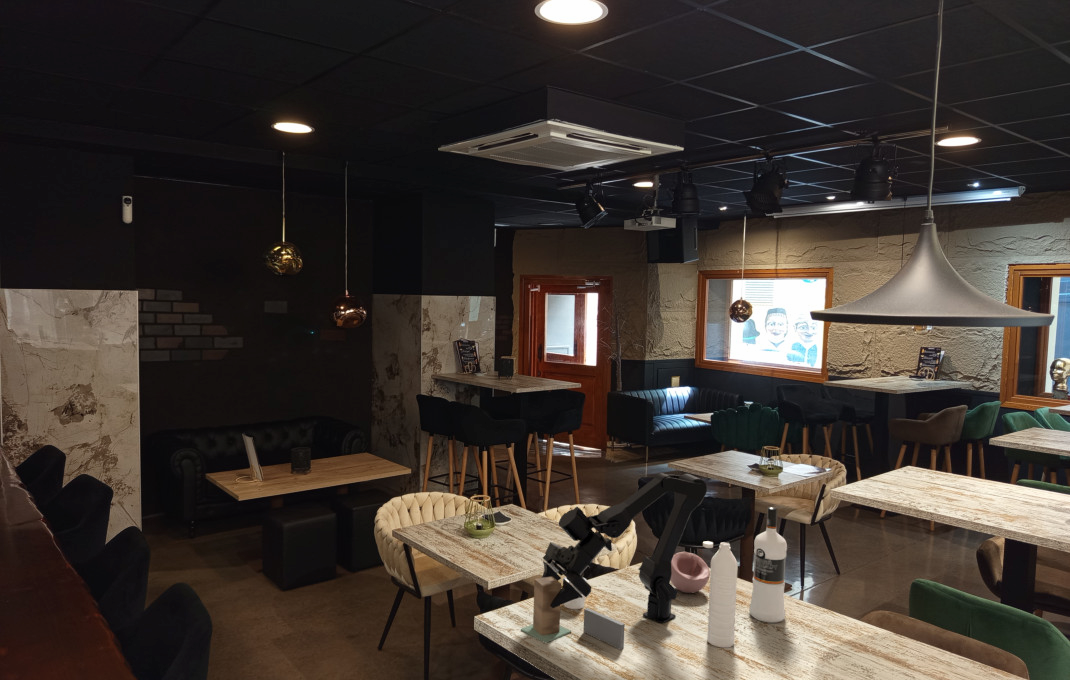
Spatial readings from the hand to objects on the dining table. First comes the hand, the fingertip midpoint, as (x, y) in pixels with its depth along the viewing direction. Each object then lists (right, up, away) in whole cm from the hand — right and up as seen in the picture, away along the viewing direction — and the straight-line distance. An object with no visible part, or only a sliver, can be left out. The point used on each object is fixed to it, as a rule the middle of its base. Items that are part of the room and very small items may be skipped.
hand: (544, 599), depth 179 cm
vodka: (+61, -10, +14) cm, 63 cm away
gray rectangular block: (+15, -9, -3) cm, 17 cm away
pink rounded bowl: (+43, -9, +30) cm, 53 cm away
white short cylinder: (+8, -8, +18) cm, 21 cm away
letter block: (+1, -8, +1) cm, 8 cm away
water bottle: (+43, -10, -2) cm, 44 cm away
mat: (0, -8, +1) cm, 8 cm away
